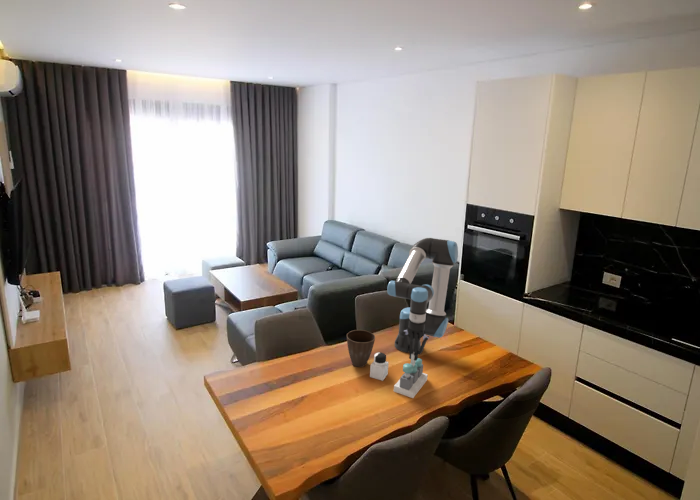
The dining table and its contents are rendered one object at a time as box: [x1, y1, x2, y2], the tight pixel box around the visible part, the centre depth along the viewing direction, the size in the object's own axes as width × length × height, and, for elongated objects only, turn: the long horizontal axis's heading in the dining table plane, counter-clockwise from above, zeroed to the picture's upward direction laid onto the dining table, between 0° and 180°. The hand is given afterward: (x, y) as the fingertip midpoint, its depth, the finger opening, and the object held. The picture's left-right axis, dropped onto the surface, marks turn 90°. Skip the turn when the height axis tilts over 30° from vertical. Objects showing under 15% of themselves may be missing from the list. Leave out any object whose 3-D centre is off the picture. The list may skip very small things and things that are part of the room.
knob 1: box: [402, 362, 413, 379], centre depth 203 cm, size 5×5×8 cm
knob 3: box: [415, 357, 423, 367], centre depth 215 cm, size 5×5×8 cm
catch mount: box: [393, 363, 429, 399], centre depth 210 cm, size 10×19×8 cm, turn 150°
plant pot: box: [346, 329, 376, 368], centre depth 227 cm, size 15×15×16 cm
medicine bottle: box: [369, 352, 389, 382], centre depth 217 cm, size 7×7×12 cm
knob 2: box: [412, 364, 418, 373], centre depth 209 cm, size 5×5×8 cm
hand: (412, 365), depth 208 cm, fingers closed
